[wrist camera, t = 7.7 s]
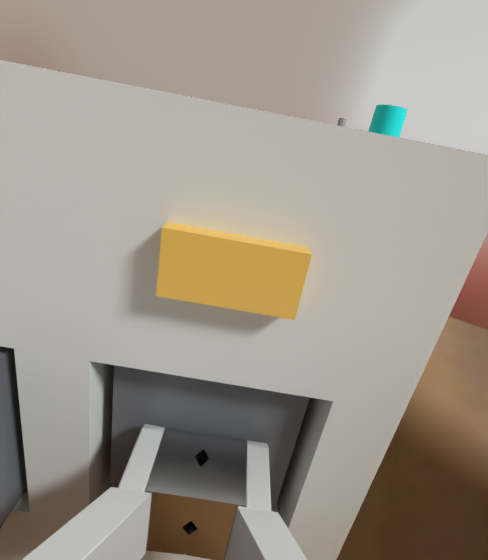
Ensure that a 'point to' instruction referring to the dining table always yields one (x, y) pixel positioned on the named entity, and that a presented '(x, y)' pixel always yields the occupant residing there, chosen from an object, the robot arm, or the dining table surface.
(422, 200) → the key panel
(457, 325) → the dining table surface
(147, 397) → the key
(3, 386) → the key middle
